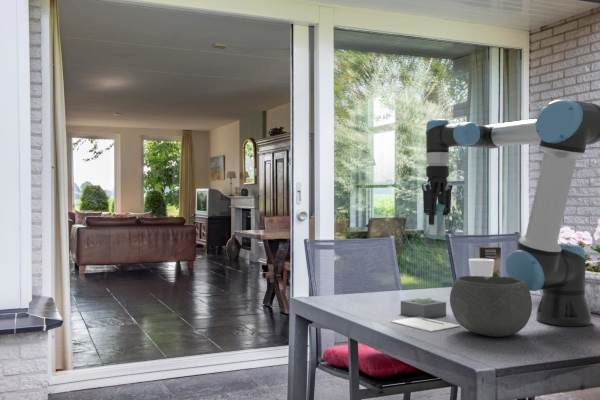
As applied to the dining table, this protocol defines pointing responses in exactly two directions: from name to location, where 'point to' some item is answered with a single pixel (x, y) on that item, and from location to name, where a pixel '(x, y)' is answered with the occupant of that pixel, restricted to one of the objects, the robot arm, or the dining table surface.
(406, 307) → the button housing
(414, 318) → the paper
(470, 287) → the bowl
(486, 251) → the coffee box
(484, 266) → the foam cup
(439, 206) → the marker
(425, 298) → the button
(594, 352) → the dining table surface
